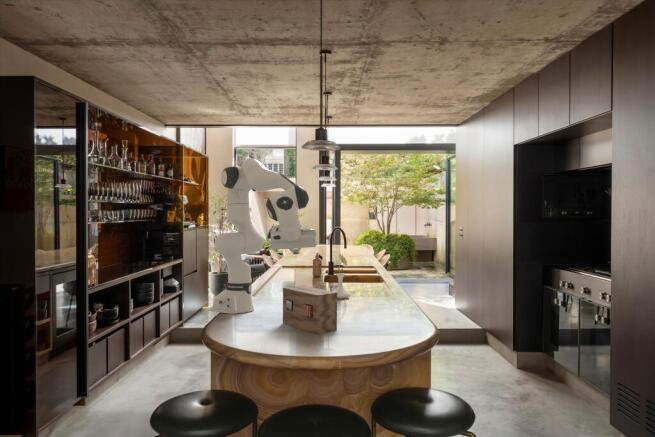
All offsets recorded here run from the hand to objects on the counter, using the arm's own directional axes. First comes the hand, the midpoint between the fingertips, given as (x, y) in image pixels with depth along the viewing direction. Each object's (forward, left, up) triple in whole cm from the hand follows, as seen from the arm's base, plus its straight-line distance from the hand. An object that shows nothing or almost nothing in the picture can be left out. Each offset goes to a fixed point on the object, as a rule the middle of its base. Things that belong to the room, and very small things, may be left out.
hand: (296, 253), depth 224 cm
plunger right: (+11, -9, -25) cm, 29 cm away
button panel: (+7, -4, -31) cm, 32 cm away
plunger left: (0, -1, -25) cm, 25 cm away
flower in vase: (+4, +68, -32) cm, 75 cm away
